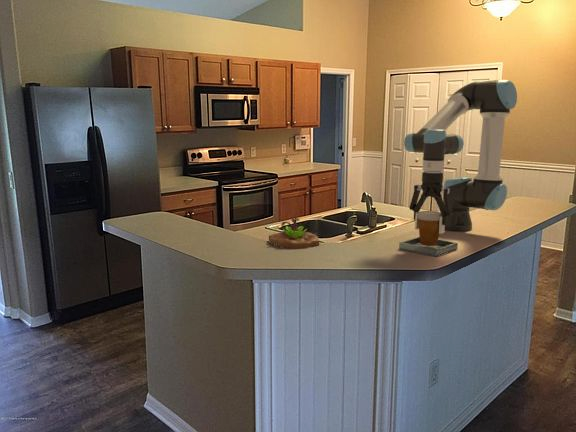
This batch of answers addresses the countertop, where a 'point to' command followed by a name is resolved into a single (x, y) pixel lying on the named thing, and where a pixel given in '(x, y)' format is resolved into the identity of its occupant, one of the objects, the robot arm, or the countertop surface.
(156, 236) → the countertop surface
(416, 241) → the grey square tray
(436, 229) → the disposable coffee cup
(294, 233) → the plant
